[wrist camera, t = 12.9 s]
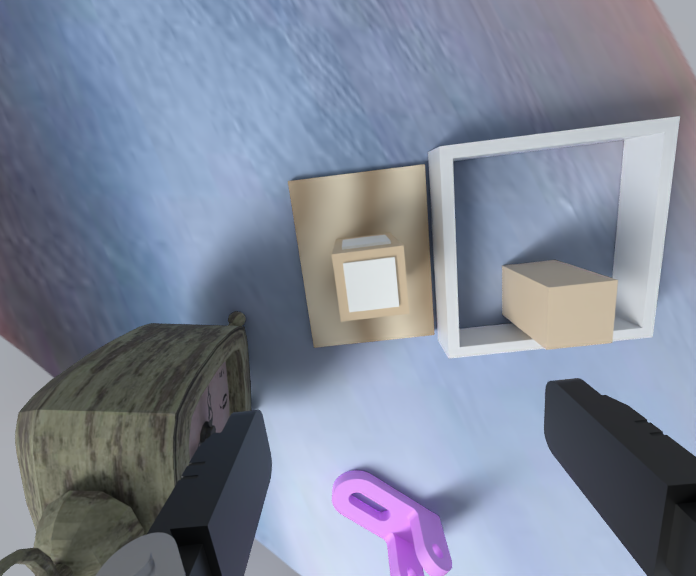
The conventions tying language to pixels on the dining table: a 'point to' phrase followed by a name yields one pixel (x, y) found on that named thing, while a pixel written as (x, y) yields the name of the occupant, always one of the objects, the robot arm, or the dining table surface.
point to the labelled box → (370, 277)
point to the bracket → (395, 524)
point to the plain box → (559, 303)
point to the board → (361, 220)
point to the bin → (631, 235)
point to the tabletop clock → (122, 438)
